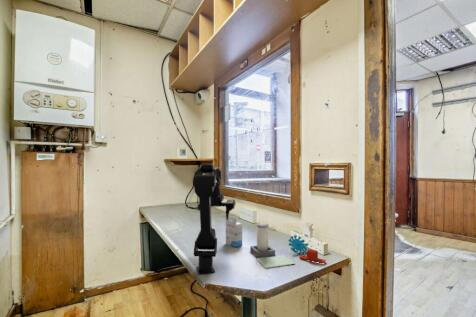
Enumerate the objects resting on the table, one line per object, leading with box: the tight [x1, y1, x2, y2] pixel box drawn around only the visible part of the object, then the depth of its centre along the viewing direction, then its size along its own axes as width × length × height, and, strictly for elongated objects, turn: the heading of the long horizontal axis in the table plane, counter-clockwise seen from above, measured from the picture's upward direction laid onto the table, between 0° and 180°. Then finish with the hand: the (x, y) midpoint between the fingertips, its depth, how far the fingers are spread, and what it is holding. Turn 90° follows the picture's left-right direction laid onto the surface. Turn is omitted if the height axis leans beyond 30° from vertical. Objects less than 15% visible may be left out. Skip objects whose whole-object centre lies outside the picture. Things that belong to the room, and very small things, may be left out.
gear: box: [288, 234, 309, 255], centre depth 117 cm, size 11×6×10 cm
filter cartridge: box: [256, 222, 269, 251], centre depth 114 cm, size 6×6×14 cm
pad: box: [255, 254, 296, 269], centre depth 104 cm, size 10×14×1 cm
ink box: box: [225, 216, 243, 248], centre depth 127 cm, size 9×5×15 cm, turn 45°
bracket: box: [299, 248, 326, 263], centre depth 106 cm, size 12×4×5 cm, turn 56°
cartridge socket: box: [249, 245, 276, 259], centre depth 114 cm, size 9×9×2 cm
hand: (218, 220), depth 121 cm, fingers open, 9 cm apart
